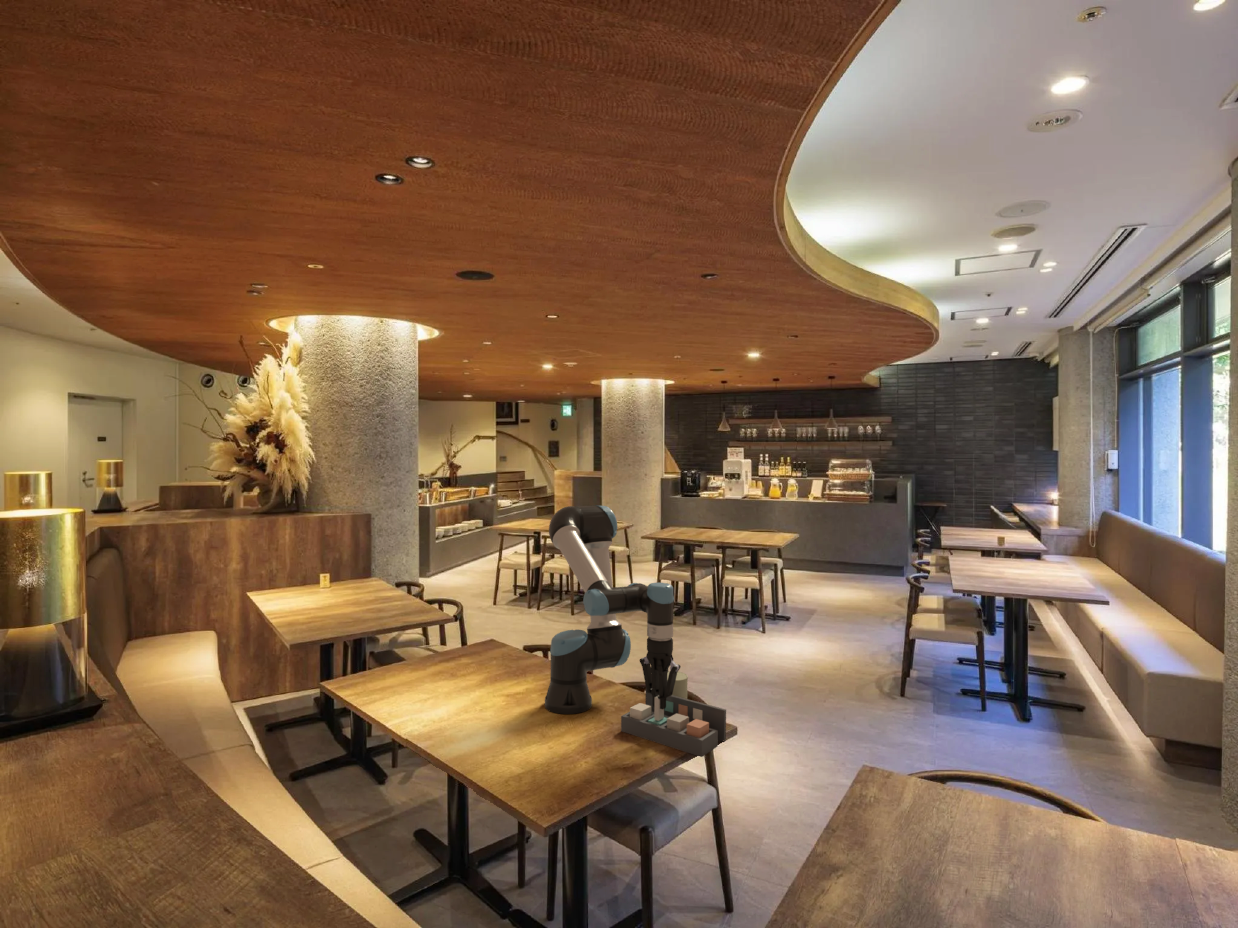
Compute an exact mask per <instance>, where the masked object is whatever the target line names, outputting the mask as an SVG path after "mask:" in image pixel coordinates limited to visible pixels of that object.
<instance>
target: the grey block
mask: <svg viewBox="0 0 1238 928" xmlns="http://www.w3.org/2000/svg"><path fill="white" fill-rule="evenodd" d="M688 723H689V717H688V716H684V715H681V714H677V713H676V714H674V715H673V716H671V717H669V718H667V728H668V729H672V730H675V731H678V732H681V731H683V730H684V729H686V728H687V724H688Z"/></svg>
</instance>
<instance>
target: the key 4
mask: <svg viewBox="0 0 1238 928" xmlns="http://www.w3.org/2000/svg"><path fill="white" fill-rule="evenodd" d="M708 733H709V722H705V721H702V720H698V719H695V720H693V721H692V722H690V723H688V724H687V734H688V735H692V736H695V737H698V738H702V737H704V736H705V735H707V734H708Z"/></svg>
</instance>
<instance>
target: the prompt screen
mask: <svg viewBox="0 0 1238 928" xmlns="http://www.w3.org/2000/svg"><path fill="white" fill-rule="evenodd" d="M652 700H653V697H652V694H651V693H648V692H647V690H646V689H645V703H644V704H645V705H649V706H651V711H652V712H654V708H655V707H653V705H652V702H653V701H652ZM676 713H677V714H681V715H684V716H688V717H689V722H692V721H693V720H695V719H698V720H702V721H705V722H709V728H711V729H715V730H718V742H719V741H720V742H723V743H725V742H727V739H726V738H727V709H726V708H723V707H718V706H716V705H715V706H714V705H710V704H706V703H704V702H700V701H696V700H691V699H688V698H687V699H685V698H681V697H677V696H674V695H671V696H669V697H667V698H666V708H665V709H664V715H666V716H670V717H671V716H673V715H674V714H676ZM725 739H726V740H725ZM723 740H724V741H723Z"/></svg>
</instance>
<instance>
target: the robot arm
mask: <svg viewBox="0 0 1238 928" xmlns="http://www.w3.org/2000/svg"><path fill="white" fill-rule="evenodd" d="M548 525H549V526H548V535H549V539H550V541H551V543H552V544H553V546H554V548H555V549H558V550H560V552H561V554H562V555H563V556H562V557H564V559H565V561H566V562H567V564H568V566H569V568H570V569H571V571H572V572H573V575H574V576H575V577H576V579H577V582H578V583H579V585H580V586H581V588H582V591H584V595H583V601H582V602H583V606H584V610H585V612H586V614H587V615H589V617H590V624H589V625H588V626H587V628H586V631H585V630H583V629H568V630H563V631H561V632H558V633H556V634H555V635H554V636H553V637H552V638H551V641H550V650H549V652H550V653H549V654H550V682H549V685H548V687H547V688H548V689H547V692H546V695H545V698H544V708H545V709H546V710H547V711H549V712H551V713H555V714H560V715H573V714H574V715H576V714H581V713H584V712H587V711H589V710H590V709H591V708H592V705H593V698H592V695H591V694H590V688H589V685H588V681H587V680H588V679H587V678H588V677H587V674H588V672H591V671H595V670H601V669H602V670H603V669H608V668H615V667H619V666H622V665H624V664H625V663H626V662H627V661H628V659H629V657H630V654H631V651H632V649H631V648H632V647H631V646H632V645H631V644H632V642H631V637H630V635H629V633H628V631H627V630H626V629H623V627H622V623H621V622H620V621H618V619H617V614H624V613H625V614H626V613H632V612H642V613H643V612H644V613H646V619H647V620H646V621H647V622H646V626H647V628H646V636H647V639H646V651H647V653H646V656H644V657H641V658H640V659H639V664H640V665H641V667H642V674H643V678H644V685H645V691H646V690H647V692H648V693H651V694H652V697H653V700H652V701H653V702H652V705H653V707H655V708H654V720H657V721H660V720H661V719H663V718H664V709H665V708H666V698H667V697H669V696H671V695H672V694H673V689H674V685H675V681H676V676H677V672H680V669H681V664H679V663H676V662H675V661H674V657H673V651H674V639H673V637H674V607H675V606H674V601H675V596H674V587H673V585H672V584H670V583H668V582H667V583H666V582H651V583H649V584H648V585H646V584H643V583H640V582H638V583H637V582H632V583H630V584H628V585H627V586H616V587H613V586H614V585H613V575H612V570H611V568H612V566H611V560H610V550H609V548H610V547H611V546H612V544H613V539H614V538H615V537H616V535H617V533H618V531H617V530H618V520H617V517H616V514H615V513H614V511H613V510H612V509H611V508H610V507H608V506H607V505H598V504H595V505H593V504H592V505H577V506H576V505H575V506H573V505H571V506H570V505H569V506H564V507H562V508H560V509H558V510H557V511H556V512H555V513H554V514H553V516H552V517H551V520H550V522H549V524H548ZM668 671H670V672H669V676H668V681H667V673H668Z"/></svg>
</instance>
